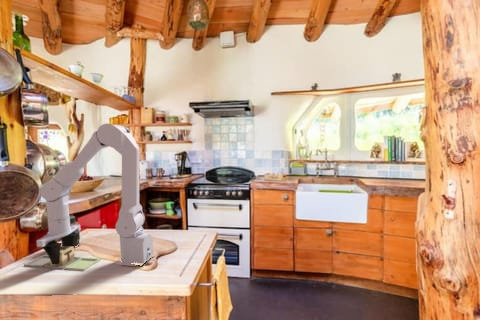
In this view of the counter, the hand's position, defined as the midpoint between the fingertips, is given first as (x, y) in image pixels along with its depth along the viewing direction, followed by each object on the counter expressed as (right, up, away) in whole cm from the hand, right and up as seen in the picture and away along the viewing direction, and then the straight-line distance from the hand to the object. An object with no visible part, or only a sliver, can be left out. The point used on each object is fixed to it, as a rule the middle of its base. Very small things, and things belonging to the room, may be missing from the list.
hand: (62, 259), depth 87 cm
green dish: (+7, -1, -1) cm, 8 cm away
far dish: (-7, -2, +2) cm, 8 cm away
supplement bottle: (-6, -1, +14) cm, 15 cm away
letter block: (0, -1, 0) cm, 1 cm away
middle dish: (0, -1, 0) cm, 1 cm away
